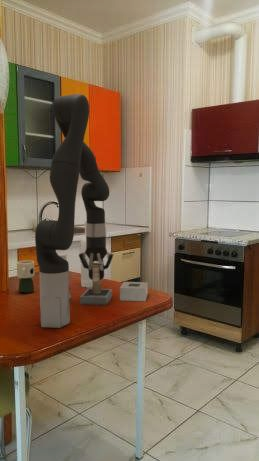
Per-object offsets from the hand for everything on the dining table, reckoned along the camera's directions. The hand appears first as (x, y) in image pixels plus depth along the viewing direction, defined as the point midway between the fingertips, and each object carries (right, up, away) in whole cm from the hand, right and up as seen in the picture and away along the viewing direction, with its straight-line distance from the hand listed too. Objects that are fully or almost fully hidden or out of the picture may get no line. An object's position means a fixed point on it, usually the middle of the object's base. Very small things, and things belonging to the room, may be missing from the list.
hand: (96, 278), depth 145 cm
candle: (-18, -7, +19) cm, 27 cm away
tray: (0, -8, +1) cm, 9 cm away
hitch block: (+15, -8, +5) cm, 17 cm away
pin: (0, -6, +1) cm, 6 cm away
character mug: (-31, -7, +13) cm, 34 cm away
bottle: (-5, -6, +24) cm, 25 cm away
